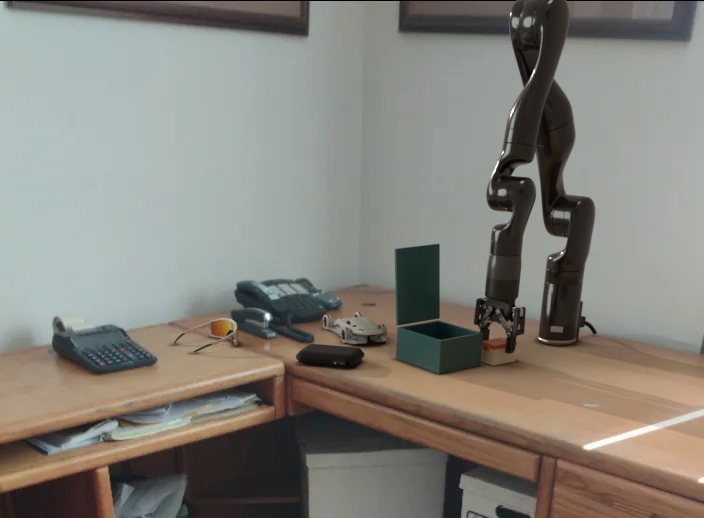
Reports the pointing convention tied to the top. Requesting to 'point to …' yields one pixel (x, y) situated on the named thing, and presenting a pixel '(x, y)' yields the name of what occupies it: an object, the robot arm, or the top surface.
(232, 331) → the sunglasses
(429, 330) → the lunch tin
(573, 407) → the top surface
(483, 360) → the snack box
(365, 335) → the car model
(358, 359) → the carrying case
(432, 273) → the tin lid
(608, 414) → the top surface
